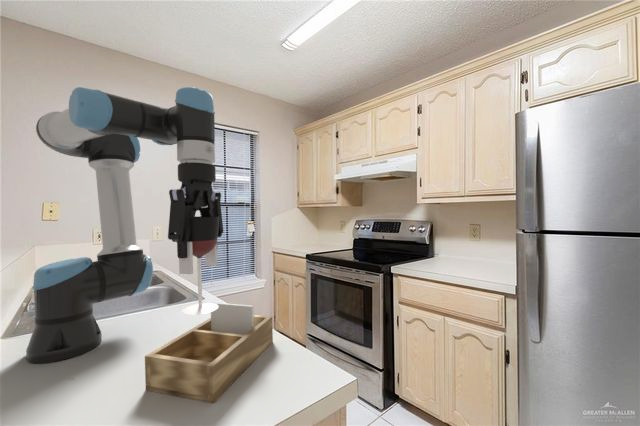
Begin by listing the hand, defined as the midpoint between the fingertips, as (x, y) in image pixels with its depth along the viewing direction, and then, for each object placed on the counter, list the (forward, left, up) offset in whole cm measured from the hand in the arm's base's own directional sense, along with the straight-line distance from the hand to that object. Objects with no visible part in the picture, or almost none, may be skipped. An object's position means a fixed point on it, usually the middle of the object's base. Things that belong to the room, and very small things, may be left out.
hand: (199, 269), depth 64 cm
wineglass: (0, 0, -9) cm, 9 cm away
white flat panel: (0, +12, -23) cm, 26 cm away
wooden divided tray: (0, +6, -24) cm, 24 cm away
